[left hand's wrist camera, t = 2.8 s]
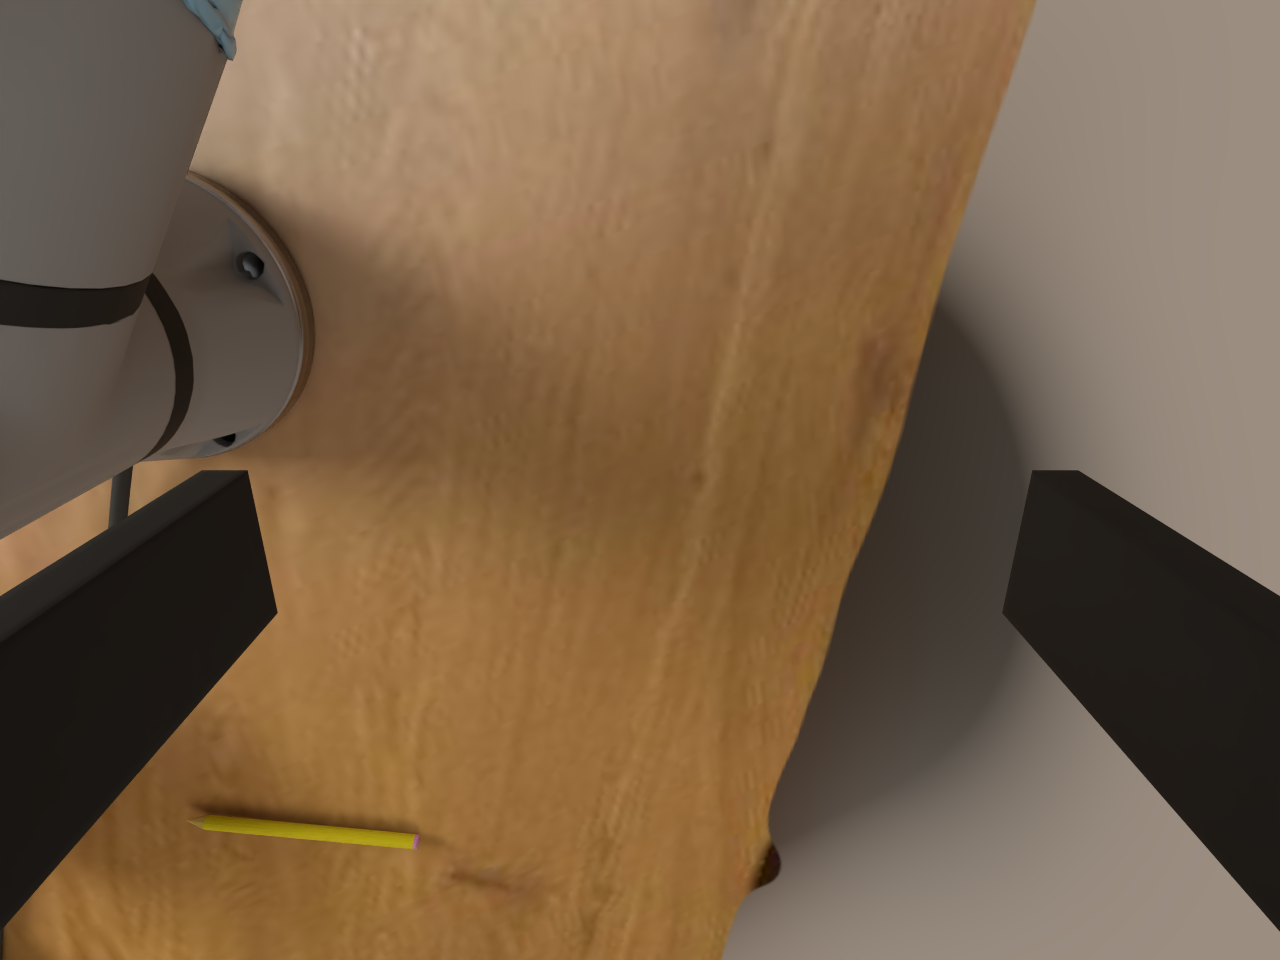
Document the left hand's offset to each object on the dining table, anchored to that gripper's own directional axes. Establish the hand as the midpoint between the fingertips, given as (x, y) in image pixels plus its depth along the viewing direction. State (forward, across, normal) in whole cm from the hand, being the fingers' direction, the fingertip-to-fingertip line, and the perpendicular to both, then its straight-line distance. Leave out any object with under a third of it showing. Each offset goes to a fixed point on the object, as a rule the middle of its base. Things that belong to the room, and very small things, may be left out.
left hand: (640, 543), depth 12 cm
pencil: (+29, +24, +37) cm, 53 cm away
